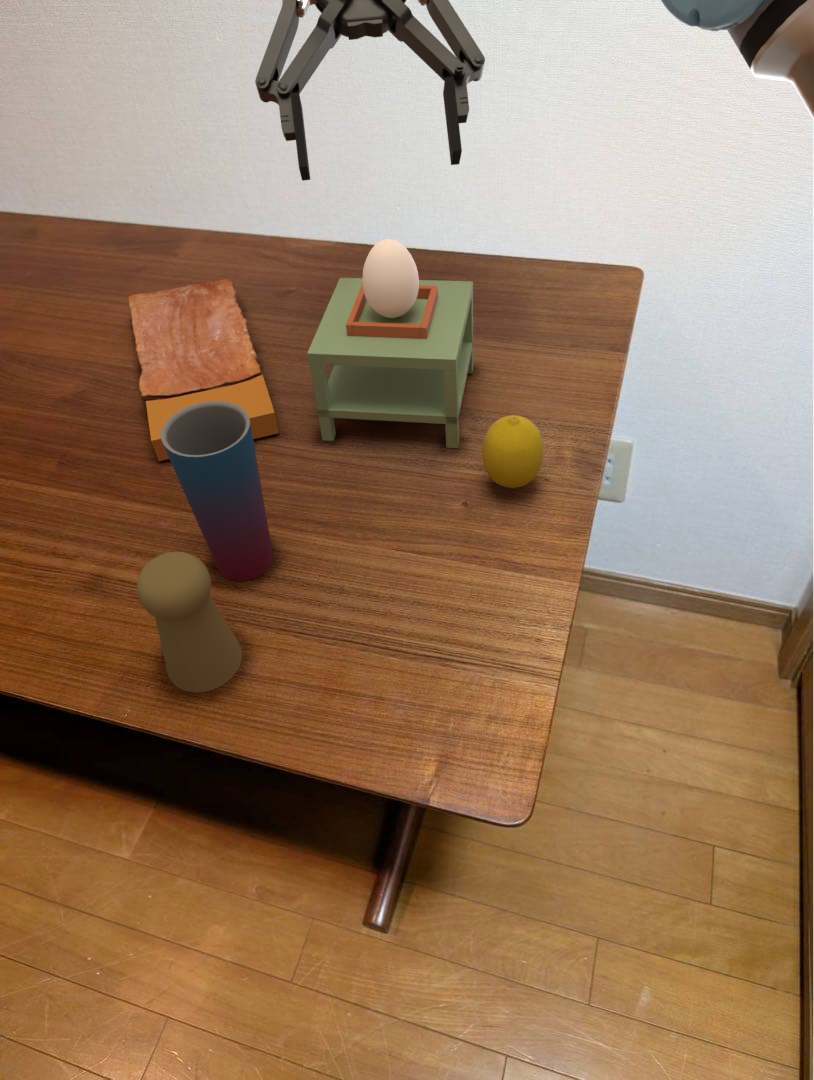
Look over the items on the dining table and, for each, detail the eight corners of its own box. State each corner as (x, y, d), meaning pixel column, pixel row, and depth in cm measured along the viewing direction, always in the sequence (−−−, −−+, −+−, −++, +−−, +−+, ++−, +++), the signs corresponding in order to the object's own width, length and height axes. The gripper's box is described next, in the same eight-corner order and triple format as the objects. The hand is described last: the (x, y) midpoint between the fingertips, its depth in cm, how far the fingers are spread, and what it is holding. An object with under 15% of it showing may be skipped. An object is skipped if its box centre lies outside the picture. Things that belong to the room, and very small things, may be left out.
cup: (235, 601, 71) (191, 469, 60) (192, 560, 74) (143, 428, 64) (298, 559, 74) (267, 426, 63) (254, 521, 77) (218, 389, 67)
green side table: (473, 367, 92) (472, 270, 84) (457, 448, 83) (455, 348, 75) (350, 362, 95) (338, 266, 86) (322, 440, 85) (305, 342, 77)
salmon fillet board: (154, 464, 84) (145, 439, 82) (134, 317, 104) (126, 293, 102) (281, 435, 86) (275, 409, 84) (237, 296, 106) (231, 272, 104)
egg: (414, 331, 79) (410, 256, 73) (360, 328, 80) (351, 253, 74) (425, 302, 83) (421, 228, 77) (373, 299, 84) (365, 226, 78)
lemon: (477, 501, 78) (477, 434, 72) (487, 463, 81) (488, 396, 75) (536, 508, 76) (541, 441, 71) (544, 469, 80) (549, 401, 74)
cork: (192, 622, 70) (155, 531, 62) (255, 641, 68) (226, 549, 60) (152, 680, 66) (107, 590, 58) (218, 701, 64) (181, 611, 56)
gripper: (487, -58, 78) (512, 169, 78) (222, -31, 77) (248, 197, 78) (498, -120, 70) (526, 131, 71) (204, -92, 70) (233, 161, 70)
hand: (380, 166), depth 74 cm, fingers open, 13 cm apart
